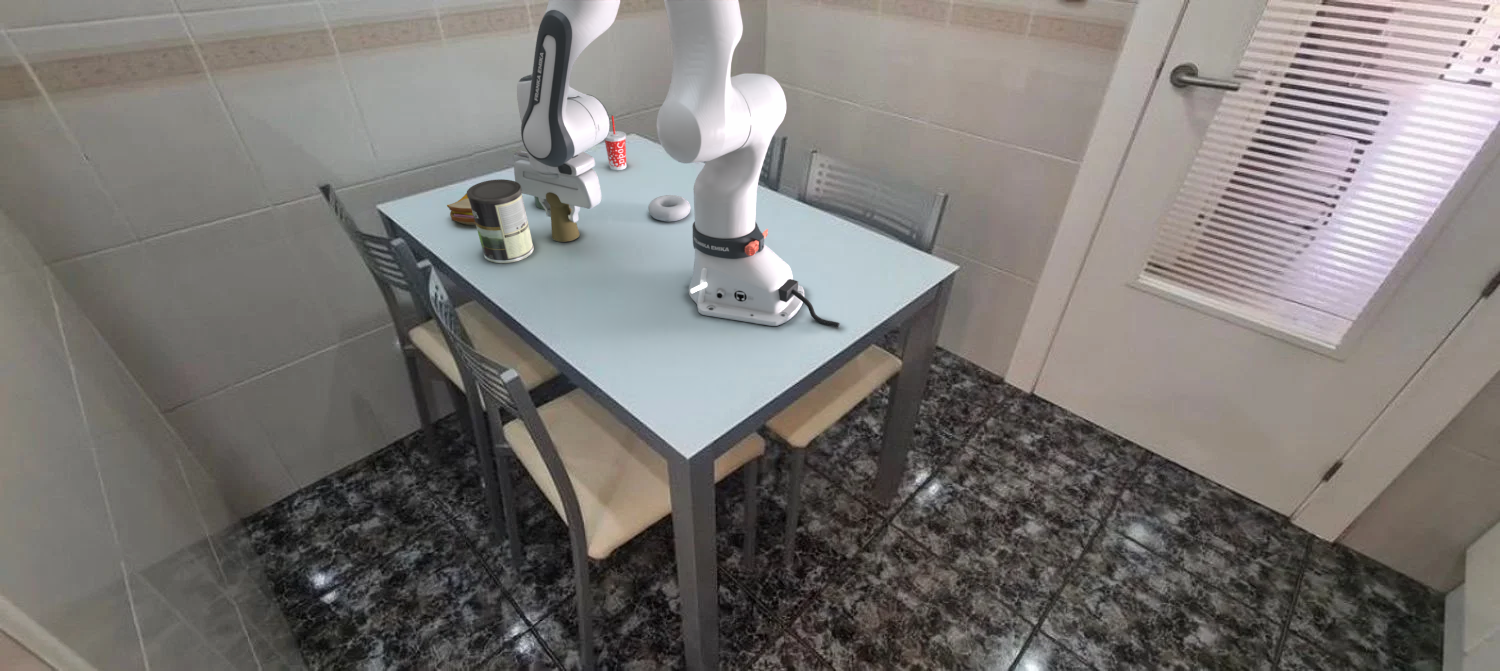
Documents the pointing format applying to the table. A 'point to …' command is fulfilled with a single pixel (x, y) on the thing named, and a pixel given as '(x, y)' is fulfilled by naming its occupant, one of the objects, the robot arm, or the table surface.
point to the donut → (669, 208)
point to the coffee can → (501, 220)
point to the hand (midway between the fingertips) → (562, 218)
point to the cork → (561, 220)
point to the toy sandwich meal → (462, 211)
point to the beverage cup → (616, 149)
